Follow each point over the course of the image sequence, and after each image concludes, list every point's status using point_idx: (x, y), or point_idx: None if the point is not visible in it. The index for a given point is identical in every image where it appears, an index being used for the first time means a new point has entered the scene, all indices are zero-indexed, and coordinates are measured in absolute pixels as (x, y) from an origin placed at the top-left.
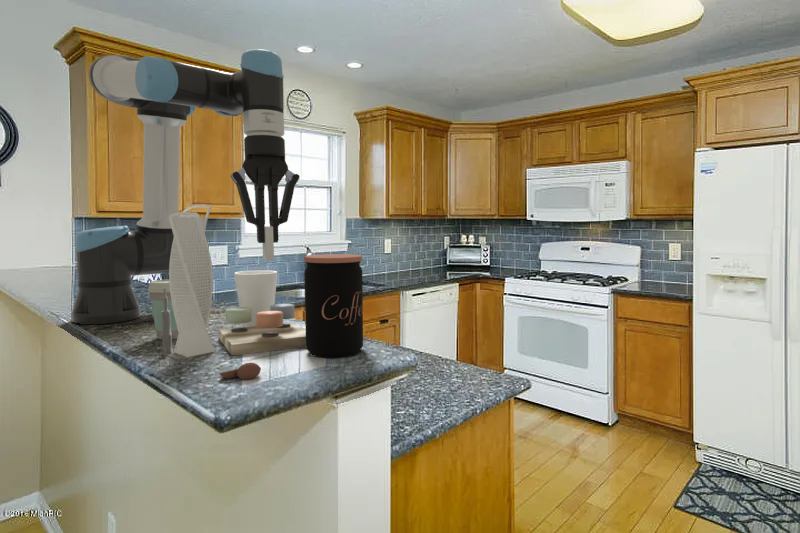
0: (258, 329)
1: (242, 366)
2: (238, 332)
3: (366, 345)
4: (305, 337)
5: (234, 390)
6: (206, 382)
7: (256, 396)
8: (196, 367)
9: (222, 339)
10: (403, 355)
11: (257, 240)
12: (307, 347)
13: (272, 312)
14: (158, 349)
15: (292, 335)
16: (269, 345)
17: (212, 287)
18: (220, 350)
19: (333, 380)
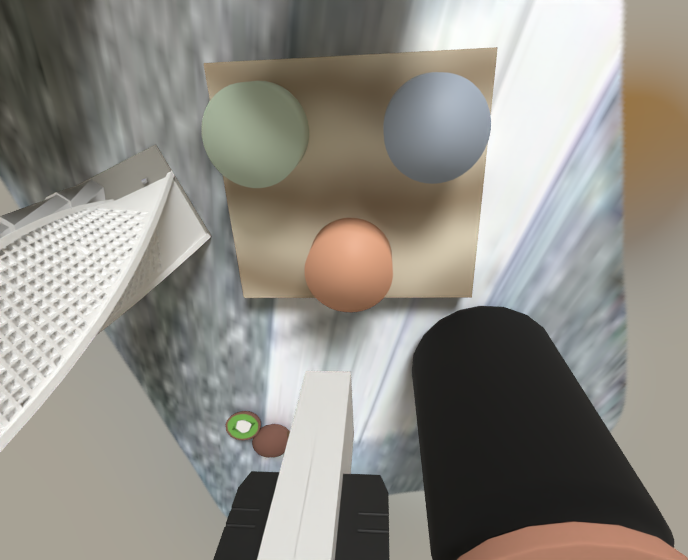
0: (336, 131)
1: (258, 452)
2: None
3: (577, 340)
4: (439, 296)
5: (250, 469)
6: (208, 423)
7: None
8: (182, 339)
9: None
10: None
11: (240, 492)
12: (412, 367)
13: (359, 268)
14: (55, 128)
15: (412, 270)
16: None
17: (113, 305)
18: (224, 222)
19: (395, 491)
